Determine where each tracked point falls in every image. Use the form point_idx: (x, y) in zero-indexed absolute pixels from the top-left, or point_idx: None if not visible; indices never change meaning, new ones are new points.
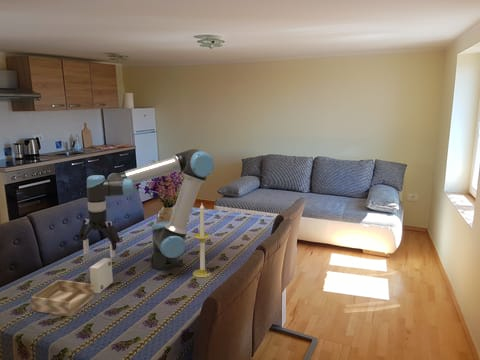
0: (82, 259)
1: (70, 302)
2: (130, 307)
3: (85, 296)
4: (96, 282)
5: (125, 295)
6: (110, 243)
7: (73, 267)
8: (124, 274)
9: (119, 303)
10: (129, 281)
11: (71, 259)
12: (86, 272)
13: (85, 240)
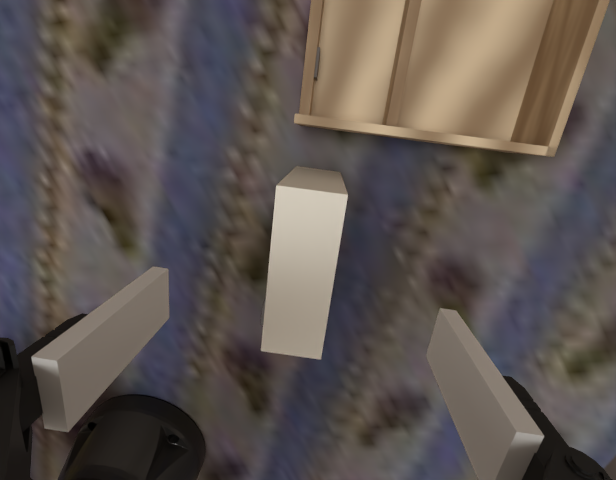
0: None
1: (388, 22)
2: (76, 48)
3: (312, 48)
4: (303, 173)
5: (162, 161)
6: (57, 372)
7: (537, 390)
8: None
9: (148, 79)
10: (212, 289)
11: None
12: None
13: (507, 446)
